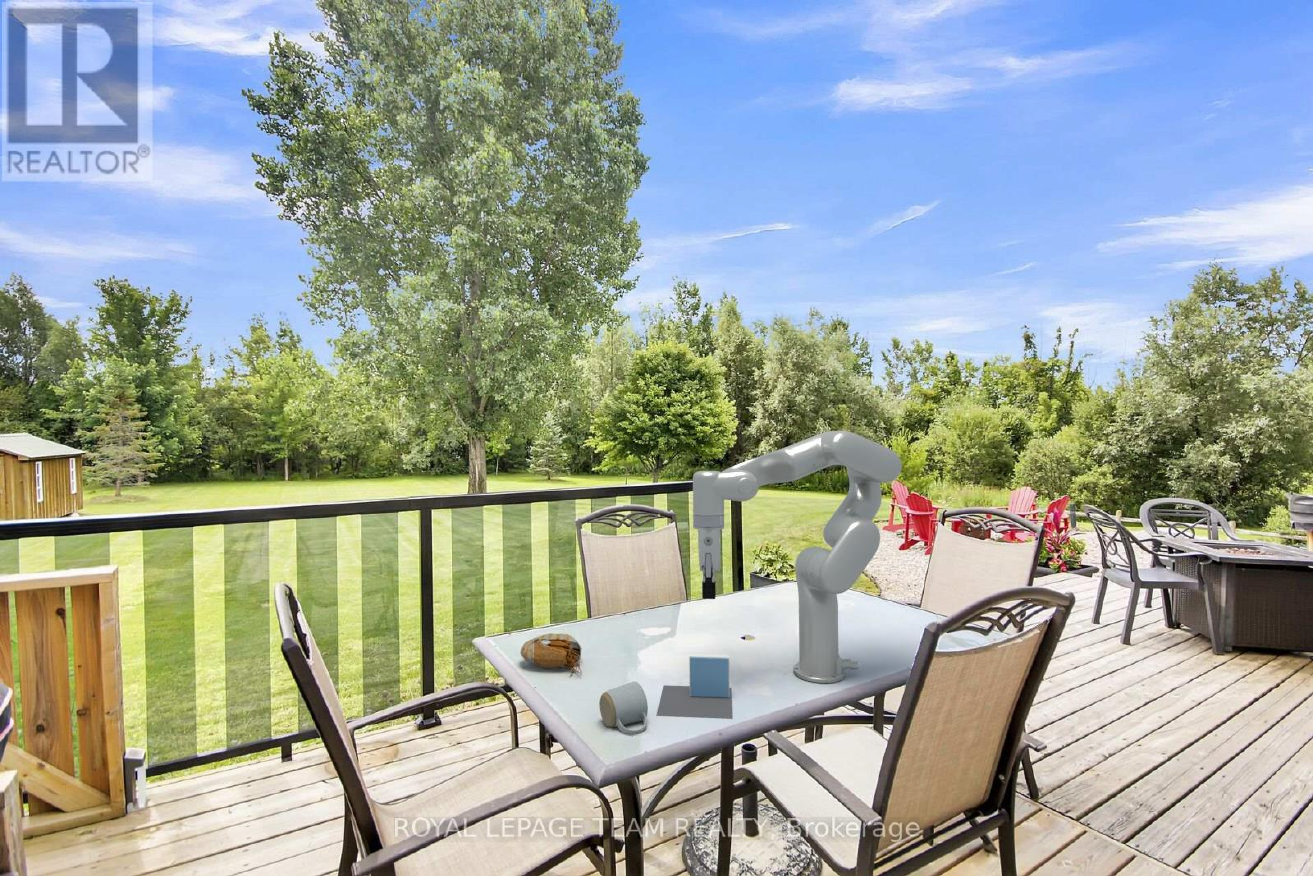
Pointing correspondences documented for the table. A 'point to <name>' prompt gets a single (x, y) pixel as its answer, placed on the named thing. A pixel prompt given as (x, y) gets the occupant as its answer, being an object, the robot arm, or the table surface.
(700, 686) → the tile
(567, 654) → the nautilus
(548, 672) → the table surface
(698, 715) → the mat
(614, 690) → the ceramic mug
